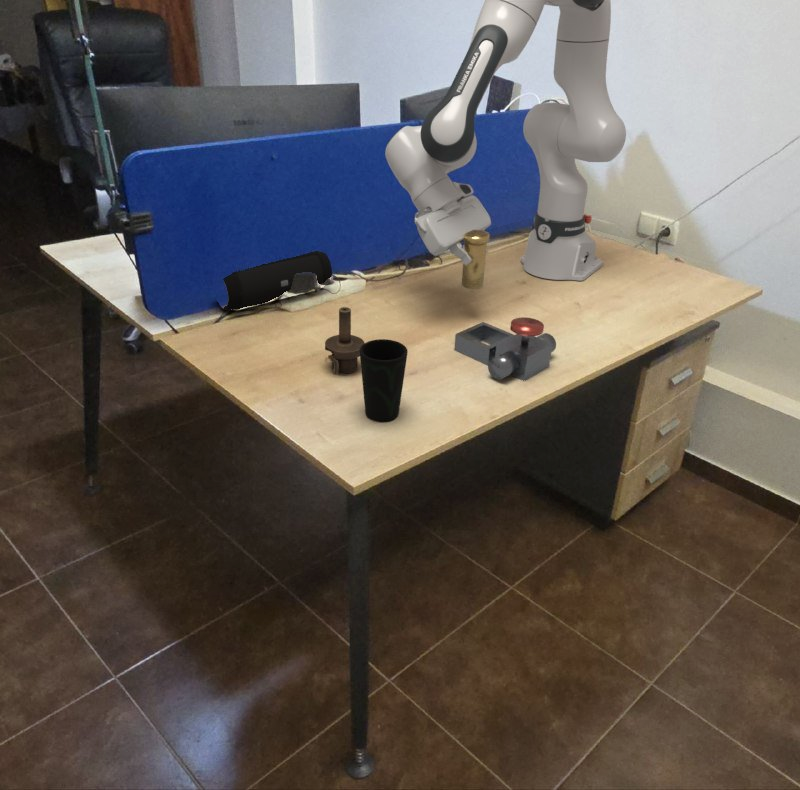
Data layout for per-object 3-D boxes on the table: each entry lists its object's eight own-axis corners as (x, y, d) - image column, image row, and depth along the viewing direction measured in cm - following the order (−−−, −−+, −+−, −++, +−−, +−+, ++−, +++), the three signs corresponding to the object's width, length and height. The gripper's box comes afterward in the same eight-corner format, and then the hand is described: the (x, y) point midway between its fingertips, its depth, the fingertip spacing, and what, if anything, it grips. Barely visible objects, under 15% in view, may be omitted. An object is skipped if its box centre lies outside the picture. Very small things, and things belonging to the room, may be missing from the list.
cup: (351, 419, 116) (351, 355, 110) (369, 397, 122) (370, 335, 116) (395, 430, 114) (397, 364, 108) (411, 407, 120) (414, 344, 114)
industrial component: (334, 381, 127) (333, 321, 120) (317, 364, 132) (315, 305, 126) (380, 370, 131) (381, 311, 125) (361, 354, 136) (362, 296, 130)
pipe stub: (470, 277, 151) (474, 227, 145) (490, 285, 148) (495, 234, 142) (454, 284, 148) (457, 233, 142) (474, 292, 145) (478, 240, 139)
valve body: (492, 332, 146) (497, 291, 142) (560, 360, 137) (567, 318, 132) (441, 355, 137) (444, 313, 132) (510, 388, 127) (516, 343, 122)
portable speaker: (232, 320, 147) (228, 275, 142) (211, 304, 154) (207, 261, 149) (334, 294, 161) (334, 252, 156) (311, 280, 168) (310, 240, 162)
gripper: (420, 205, 135) (461, 265, 135) (474, 183, 149) (510, 237, 149) (401, 223, 139) (440, 281, 140) (454, 200, 153) (490, 252, 154)
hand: (477, 258), depth 145 cm, fingers closed on pipe stub, 4 cm apart
